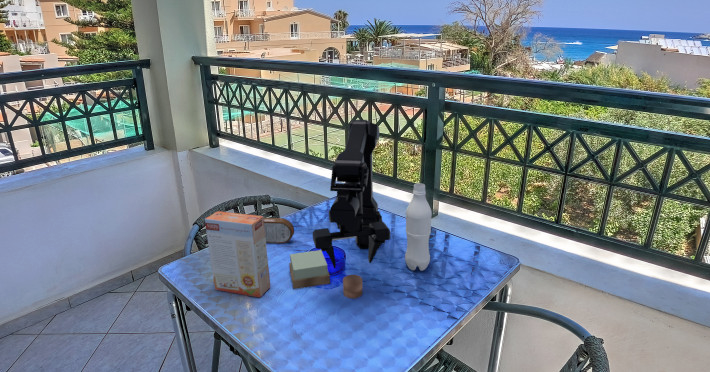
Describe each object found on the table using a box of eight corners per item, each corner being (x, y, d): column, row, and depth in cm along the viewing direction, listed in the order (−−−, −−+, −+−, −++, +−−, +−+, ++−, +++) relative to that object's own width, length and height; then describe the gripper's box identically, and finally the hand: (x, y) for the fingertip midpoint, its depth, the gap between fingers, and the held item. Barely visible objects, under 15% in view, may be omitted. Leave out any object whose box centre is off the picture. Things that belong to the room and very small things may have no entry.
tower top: (321, 259, 122) (321, 249, 121) (327, 274, 113) (327, 265, 112) (290, 263, 119) (289, 254, 118) (294, 280, 111) (293, 270, 110)
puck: (359, 286, 112) (359, 273, 111) (364, 296, 108) (364, 283, 106) (341, 289, 111) (341, 276, 110) (345, 300, 106) (345, 286, 105)
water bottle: (434, 266, 121) (438, 184, 113) (420, 275, 116) (423, 191, 108) (414, 258, 126) (416, 179, 118) (399, 267, 121) (400, 185, 113)
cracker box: (271, 286, 113) (264, 215, 106) (259, 299, 108) (251, 224, 101) (227, 278, 117) (218, 209, 111) (214, 290, 112) (203, 218, 105)
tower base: (324, 267, 123) (323, 258, 122) (330, 285, 114) (329, 275, 113) (289, 272, 121) (289, 263, 120) (293, 290, 112) (292, 281, 111)
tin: (295, 240, 139) (293, 217, 136) (293, 245, 136) (291, 221, 133) (251, 239, 141) (248, 216, 138) (248, 243, 138) (245, 220, 135)
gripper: (378, 193, 111) (378, 246, 116) (308, 200, 107) (311, 255, 112) (391, 208, 101) (390, 265, 106) (314, 217, 97) (317, 276, 102)
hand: (352, 264), depth 107 cm, fingers open, 9 cm apart
